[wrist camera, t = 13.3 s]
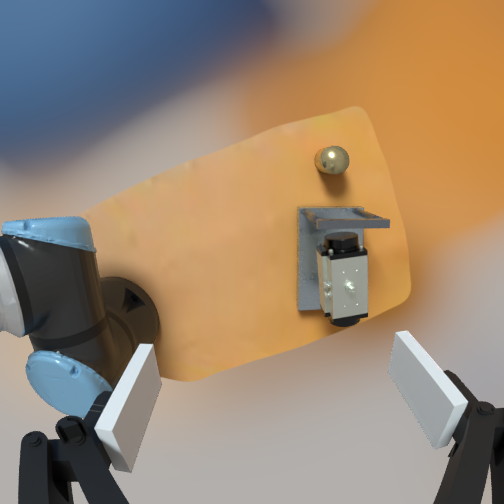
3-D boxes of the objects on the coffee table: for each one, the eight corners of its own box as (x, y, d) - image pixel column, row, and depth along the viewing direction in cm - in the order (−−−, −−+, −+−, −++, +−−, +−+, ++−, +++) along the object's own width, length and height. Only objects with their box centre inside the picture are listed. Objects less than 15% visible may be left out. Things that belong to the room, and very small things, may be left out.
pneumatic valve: (341, 222, 46) (370, 240, 35) (345, 295, 49) (370, 330, 38) (305, 227, 46) (324, 246, 35) (311, 300, 49) (329, 338, 38)
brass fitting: (314, 173, 47) (322, 174, 43) (314, 147, 46) (321, 145, 42) (339, 173, 47) (349, 174, 43) (339, 148, 46) (348, 146, 42)
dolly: (295, 302, 53) (310, 344, 40) (296, 206, 49) (313, 219, 36) (352, 299, 53) (381, 337, 40) (357, 205, 49) (393, 218, 36)
